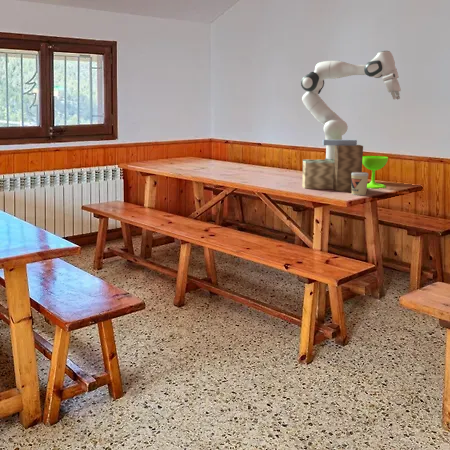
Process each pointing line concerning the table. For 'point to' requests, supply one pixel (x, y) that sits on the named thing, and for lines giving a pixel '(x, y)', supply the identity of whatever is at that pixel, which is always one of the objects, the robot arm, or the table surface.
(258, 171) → the table surface
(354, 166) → the tall brown box
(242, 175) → the table surface
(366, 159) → the wineglass
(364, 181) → the coffee cup
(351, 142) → the batten
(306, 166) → the zigzag patterned box
